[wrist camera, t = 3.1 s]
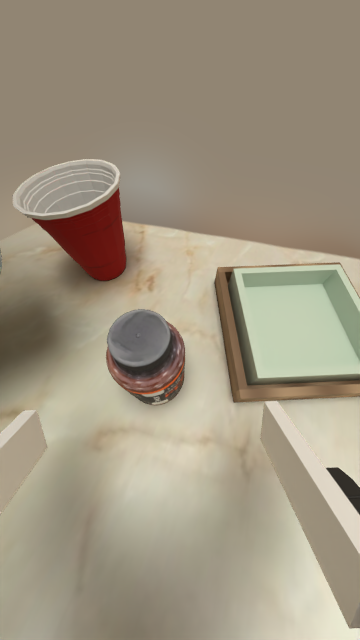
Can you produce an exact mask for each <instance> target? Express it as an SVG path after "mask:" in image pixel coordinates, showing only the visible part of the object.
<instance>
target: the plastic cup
mask: <svg viewBox="0 0 360 640" xmlns="http://www.w3.org/2000/svg"><path fill="white" fill-rule="evenodd" d="M119 182H120V172H119V170H118V169H117V168H116V166H115V165H114V164H111V163H109V162H106V161H104V160H92V159H84V160H76V161H69V162H65V163H62V164H59V165H55V166H52V167H49V168H47V169H45V170H43V171H41V172H39V173H37V174H34V175H33V176H31V177H30V178H29V179H28V180H26V181H25V182H23V183H22V184H21V185H20V186H19V187H18V189H17V190H16V192H15V193H14V195H13V206H14V207H15V208H16V209H17V210H19V211H20V212H21V213H23V214H24V215H25V216H27V217H29V218H32V219H33V220H34V221H35V222H36V223H38V224H39V225H40V226H41V227H42V228H43V229H44V230H45V231H47V232H48V233H49V234H50V235H51V236H52V237H53V239H54V240H55V241H56V242H57V243H58V244H59V245H60V246H61V247H62V248H63V249H64V250H65V251H66V252H67V253H68V254H69V255H70V256H71V257H72V258H73V259H74V260H75V261H76V262H77V263H78V264H79V265H80V266H81V267H82V268H83V269H84V270H85V271H86V272H87V273H88V274H89V275H90V276H91V277H93V278H94V279H97V280H101V281H104V280H111V279H114V278H116V277H118V276H119V275H120V274H122V272H123V271H124V269H125V266H126V254H125V241H124V233H123V226H122V218H121V211H120V198H119V194H120V193H119Z"/></svg>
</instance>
